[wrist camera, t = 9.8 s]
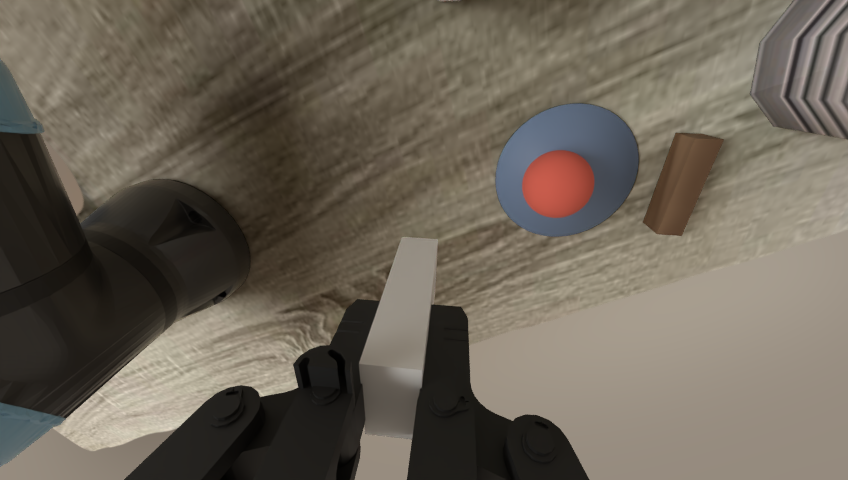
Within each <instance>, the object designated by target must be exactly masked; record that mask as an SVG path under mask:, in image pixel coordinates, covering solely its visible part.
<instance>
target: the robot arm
mask: <svg viewBox="0 0 848 480" xmlns="http://www.w3.org/2000/svg"><path fill="white" fill-rule="evenodd" d="M42 132H44V128H43V126H42V124H41V123H40V122H39V121H37V120H36V119H34V117H33V115H32V113H31V111H30V109H29V107H28V105H27V103H26V101H25V99H24V98H23V96H22V94H21V92H20V90H19V88H18V86H17V84H16V82H15V80H14V78H13V76H12V74H11V72H10V70H9V69H8V67H7V66H6V65H5V63H4V62H3V61H2V60H1V59H0V466H2V465H3V464H6V463H8V462H9V461H11V460H12V459H13V458H15V457H16V456H17V455H19V454H20V453H21V452H22V451H24V450H25V449H26V448H27V447H29V446H30V445H31V444H32V443H34V442H35V441H36V440H37V439H39V438H40V437H41V436H42V435H44V434H45V433H46V432H48V431H49V430H50V429H51V428H53V427H55V426H58V425H60V424H61V423H62V422H63V421H64V420H66V418H67V417H68V416H69V415H70V414H71V413H73V412H74V411H75V410H76V409H77V408H78V407H79V406H81V405H82V404H83V403H84V402H85V401H86V400H87V399H88V398H90V397H91V396H92V395H93V394H94V393H95V392H96V391H97V390H99V389H100V388H101V387H102V386H103V385H104V384H105V383H106V382H108V381H109V380H110V379H111V378H112V377H113V376H114V375H115V374H117V373H118V372H119V371H120V370H121V369H122V368H123V367H124V366H126V365H127V364H128V363H129V362H130V361H131V360H132V359H133V358H135V357H136V356H137V355H138V354H139V353H140V352H141V351H143V350H144V349H145V348H146V347H147V346H148V345H149V344H150V343H152V342H153V341H154V340H155V339H156V338H157V337H158V336H159V335H160V334H162V333H163V332H164V331H165V330H166V329H167V328H169V327H170V326H171V325H172V324H174V323H175V322H177V321H179V320H181V319H184V318H186V317H188V316H190V315H193V314H195V313H197V312H199V311H202V310H204V309H206V308H208V307H211V306H213V305H215V304H217V303H220V302H221V301H223V300H225V299H226V298H228V297H229V296H230V295H231V294H232V293H233V292H234V291H235V290H236V289H238V288H239V287H240V286H241V285H242V284H243V282H244V281H245V279H246V277H247V275H248V272H249V267H250V255H249V250H248V246H247V243H246V240H245V238H244V236H243V234H242V232H241V230H240V228H239V227H238V225H237V224H236V222H235V221H234V220H233V218H232V217H231V216H230V215H229V214H228V213H227V211H226V210H225V209H224V208H222V207H221V206H220V205H219V204H218V203H217V202H216V201H214V200H213V199H212V198H210V197H209V196H207V195H206V194H204V193H203V192H201V191H199V190H197V189H195V188H193V187H191V186H189V185H186V184H183V183H180V182H177V181H172V180H165V179H154V180H148V181H144V182H141V183H138V184H136V185H133V186H130V187H127V188H125V189H123V190H121V191H119V192H117V193H116V194H114V195H113V196H112V197H111V198H110V199H109V200H107V201H106V202H105V203H104V204H103V205H101V206H100V207H99V208H98V209H97V210H96V211H94V212H93V213H92V214H91V215H90V216H89V217H87V218H86V219H85V220H84V221H83V222H82V223H81V224H80V223H79V220H78V218H77V216H76V213H75V211H74V209H73V207H72V205H71V202H70V200H69V198H68V195H67V193H66V191H65V189H64V186H63V184H62V182H61V179H60V177H59V175H58V173H57V170H56V168H55V166H54V163H53V162H52V159H51V157H50V154H49V152H48V150H47V147H46V145H45V143H44V140H43V138H42V136H41V134H40V133H42ZM437 250H438V239H428V238H414V237H402V238H401V241H400V244H399V247H398V250H397V253H396V256H395V259H394V262H393V265H392V268H391V270H390V273H389V276H388V279H387V282H386V285H385V288H384V291H383V294H382V297H381V300H380V301H373V300H361V299H357V300H356V301H355V302H354V303H353V304H352V305H350V306H349V307H348V308H347V309H346V312H345V314H344V316H343V318H342V321H341V322H340V324H339V327H338V329H337V332H336V333H335V335H334V337H333V339H332V341H331V344H330V345H327V346H319V347H316V348H313V349H310V350H308V351H307V352H305V353H304V354H302V355H301V356H300V357H299V358H298V359H297V360H296V362H295V363H294V364H293V366H294V370H295V374H296V379H297V383H298V387H299V388H296V389H294V390H292V391H288V392H285V393H279V394H274V395H269V396H264V397H260V396H259V393H258V392H257V391H256V390H255V389H253V388H252V387H249V386H242V385H241V386H235V387H230V388H227V389H225V390H223V391H221V392H218V393H217V394H215V395H214V396H213V397H211V398H210V399H209V400H207V401H206V402H205V403H204V404H203V405H202V406H201V407H200V408H199V409H198V410H196V411H195V412H194V413H193V414H192V415H191V416H190V417H189V418H188V419H187V420H186V421H185V422H184V423H183V424H182V425H181V426H180V427H179V428H178V429H177V430H176V431H175V432H173V433H172V435H170V436H169V437H168V438H167V439H166V440H165V441H164V442H163V443H162V444H161V445H160V446H159V447H158V448H157V449H156V450H155V451H154V452H153V453H152V454H151V455H149V456H148V458H146V459H145V460H144V461H143V462H142V463H141V464H140V465H139V466H138V467H137V468H136V469H135V470H134V471H133V472H132V473H131V474H130V475H128V477H126V478H125V479H124V480H354V479H355V475H356V471H357V467H358V463H359V459H360V439H361V435H362V431H363V428H364V425H365V434H370V435H378V436H387V437H396V438H405V439H412V446H411V453H410V461H409V468H408V477H407V480H589V478H588V477H587V475H586V473H585V471H584V469H583V467H582V465H581V463H580V462H579V459H578V458H577V456H576V454H575V452H574V450H573V448H572V446H571V444H570V443H569V441H568V439H567V438H566V436H565V435H564V434H563V432H562V431H561V430H560V428H558V427H557V426H556V425H554V424H553V423H552V422H551V421H549V420H547V419H545V418H543V417H540V416H537V415H523V416H520V417H517V418H515V419H514V421H511V420H509V419H506V418H504V417H502V416H499V415H497V414H495V413H493V412H491V411H489V410H488V409H486V408H485V407H484V406H483V405H482V404H480V403H479V401H478V400H477V399H476V397H475V396H474V394H473V392H472V389H471V384H470V366H469V365H470V364H469V343H468V342H469V338H468V318H467V316H466V314H465V313H464V311H463V309H462V308H461V307H456V306H444V305H434V298H435V285H436V268H437Z"/></svg>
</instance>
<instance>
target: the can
mask: <svg viewBox="0 0 848 480" xmlns="http://www.w3.org/2000/svg"><path fill="white" fill-rule="evenodd" d="M750 95H751V96H752V98H753V99H754V101H755V102H756V103H757V105H758V106H759V107H760V109H761V110H762V111H763V113H764V114H765V116H766V117H767V118H768V120H769V121H770V122H771V124H772V125H773V126H775V127H781V128H787V129H793V130H798V131H804V132H810V133H815V134H821V135H827V136H832V137H838V138H844V139H848V0H794V1H793V2H792V3H791V4H790V6H789V7H788V8H787V9H786V11H785V12H784V13H783V14H782V16H781V17H780V18H779V19H778V21H777V22H776V23H775V24H774V26H773V27H772V28H771V29H770V30H769V32H768V33H767V34H766V35H765V37H764V38H763V39H762V40H761V42H760V44H759V49H758V55H757V60H756V65H755V70H754V76H753V81H752V86H751V91H750Z"/></svg>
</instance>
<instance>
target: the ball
mask: <svg viewBox="0 0 848 480" xmlns="http://www.w3.org/2000/svg"><path fill="white" fill-rule="evenodd" d="M593 190H594V174H593V171H592V169H591V167H590V165H589V164H588V162H587V161H586V160H585V159H584V158H583V157H581V156H580V155H578V154H576V153H574V152H571V151H566V150H555V151H550V152H547V153H545V154H543V155H541V156H539V157H538V158H536V159H535V160H534V161H533V162H532V163H531V164H530V165H529V167H528V168H527V170H526V172H525V174H524V177H523V181H522V191H523V195H524V198H525V200H526V202H527V204H528V205H529V206H530V207H531V208H532V209H533V210H534V211H535V212H537V213H538V214H540V215H543V216H546V217H551V218H561V217H566V216H569V215H572V214H574V213H576V212H577V211H579V210H580V209H582V208H583V207H584V206H585V205H586V203H587V202H588V201H589V199H590V197H591V195H592V193H593Z"/></svg>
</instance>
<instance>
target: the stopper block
mask: <svg viewBox="0 0 848 480" xmlns="http://www.w3.org/2000/svg"><path fill="white" fill-rule="evenodd" d="M722 143H723V139H719V138H716V137H712V136H708V135H704V134H690V133H676V134H675V137H674V139H673V142H672V145H671V147H670V150H669V153H668V156H667V158H666V161H665V164H664V166H663V169H662V172H661V175H660V177H659V180H658V183H657V185H656V188H655V191H654V194H653V196H652V199H651V202H650V204H649V207H648V210H647V213H646V215H645V218H644V221H643V223H644V224H646V225H647V226H648V227H649V228H650V229H652V230H653V231H654V232H655V233H656V234H663V235H679V236H682V234H683V232H684V229H685V227H686V225H687V222H688V220H689V218H690V216H691V213H692V211H693V209H694V207H695V204H696V202H697V200H698V197H699V195H700V193H701V191H702V188H703V186H704V184H705V181H706V179H707V177H708V175H709V172H710V170H711V168H712V165H713V163H714V161H715V159H716V156H717V154H718V152H719V150H720V147H721V145H722Z"/></svg>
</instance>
